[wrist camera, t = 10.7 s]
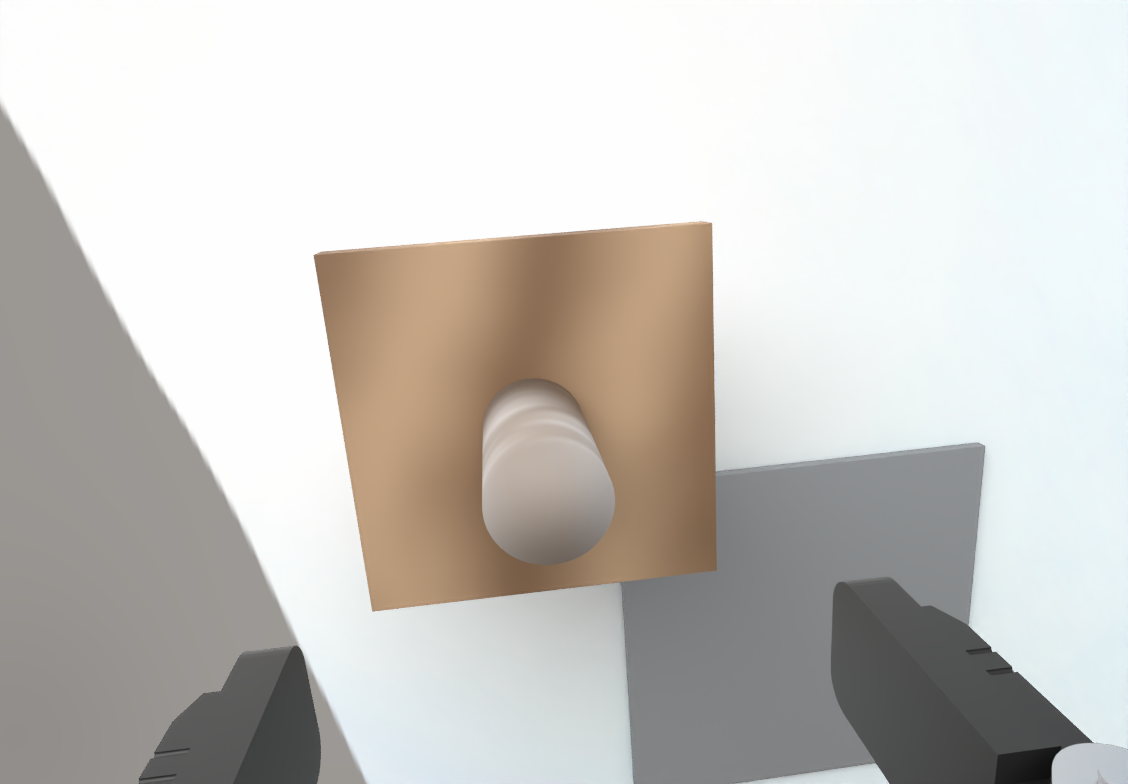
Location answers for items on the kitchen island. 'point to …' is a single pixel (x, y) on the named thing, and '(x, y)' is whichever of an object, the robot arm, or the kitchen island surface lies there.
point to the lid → (527, 409)
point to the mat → (788, 610)
